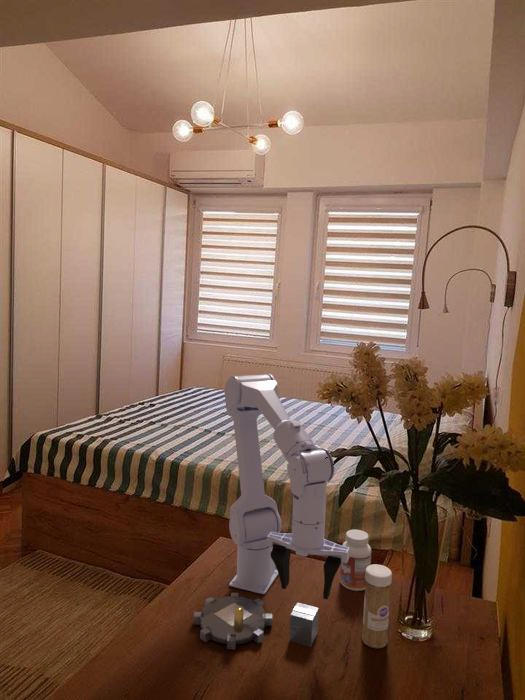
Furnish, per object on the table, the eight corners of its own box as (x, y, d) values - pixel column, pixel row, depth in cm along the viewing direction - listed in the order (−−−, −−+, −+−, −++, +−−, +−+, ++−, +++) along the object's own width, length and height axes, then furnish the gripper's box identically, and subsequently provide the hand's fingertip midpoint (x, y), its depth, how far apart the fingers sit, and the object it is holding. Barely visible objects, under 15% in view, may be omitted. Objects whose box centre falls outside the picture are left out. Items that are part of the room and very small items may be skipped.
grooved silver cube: (296, 627, 97) (297, 601, 97) (317, 633, 96) (318, 607, 95) (289, 640, 93) (290, 614, 93) (311, 647, 92) (312, 619, 91)
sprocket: (177, 621, 97) (178, 593, 96) (235, 591, 107) (236, 565, 107) (230, 661, 87) (230, 630, 87) (288, 623, 97) (289, 596, 97)
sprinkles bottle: (375, 653, 91) (380, 579, 89) (356, 638, 94) (360, 568, 93) (393, 643, 94) (397, 571, 92) (373, 629, 97) (377, 560, 96)
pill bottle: (335, 577, 115) (338, 528, 113) (362, 574, 116) (364, 526, 115) (346, 593, 109) (348, 542, 107) (374, 590, 110) (376, 540, 109)
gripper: (261, 519, 91) (259, 593, 92) (344, 535, 86) (340, 613, 87) (275, 504, 97) (273, 573, 99) (353, 518, 92) (349, 591, 94)
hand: (305, 591), depth 93 cm, fingers open, 7 cm apart
